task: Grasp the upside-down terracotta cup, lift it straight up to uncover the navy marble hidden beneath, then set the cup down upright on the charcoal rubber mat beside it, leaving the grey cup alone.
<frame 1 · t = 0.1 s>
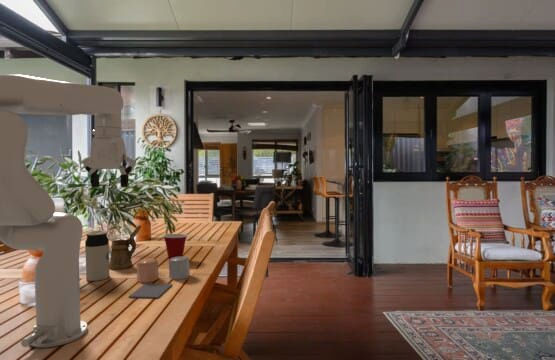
hand: (109, 186, 108), 37 cm above the table, tool pointing down, fingers open, 9 cm apart
marble: (147, 275, 129), in the terracotta cup
terracotta cup: (147, 279, 129), on the table
plastic cup: (175, 260, 155), on the table
travel mug: (98, 278, 130), on the table
grey cup: (179, 276, 132), on the table
wooden mug: (125, 267, 145), on the table
mat: (151, 291, 116), on the table
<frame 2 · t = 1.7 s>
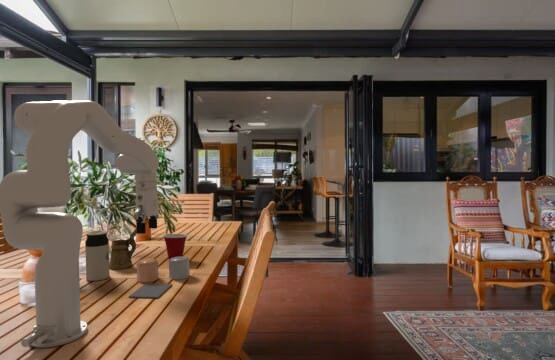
hand: (147, 230, 128), 19 cm above the table, tool pointing down, fingers open, 9 cm apart
nothing on the table moved.
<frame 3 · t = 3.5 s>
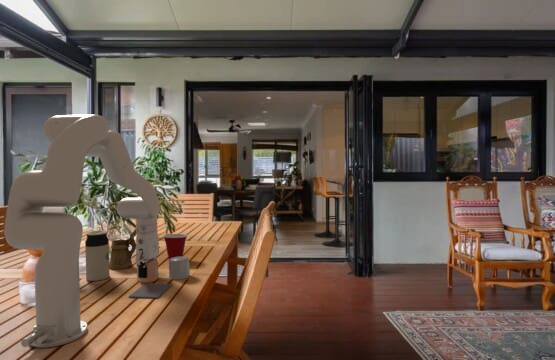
hand: (147, 273, 129), 2 cm above the table, tool pointing down, fingers closed on terracotta cup, 7 cm apart
terracotta cup: (147, 279, 129), on the table, touching gripper
everything else where it was.
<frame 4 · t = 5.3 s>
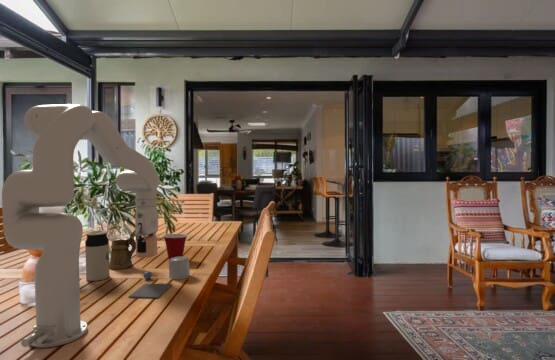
hand: (146, 249, 128), 12 cm above the table, tool pointing down, fingers closed on terracotta cup, 7 cm apart
terracotta cup: (146, 255, 128), point 9 cm above the table, touching gripper
everything else where it was.
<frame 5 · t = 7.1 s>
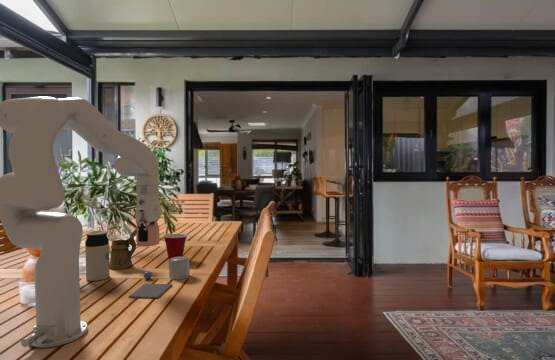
hand: (148, 238, 121), 17 cm above the table, tool pointing down, fingers closed on terracotta cup, 7 cm apart
terracotta cup: (148, 244, 121), point 15 cm above the table, touching gripper
everything else where it was.
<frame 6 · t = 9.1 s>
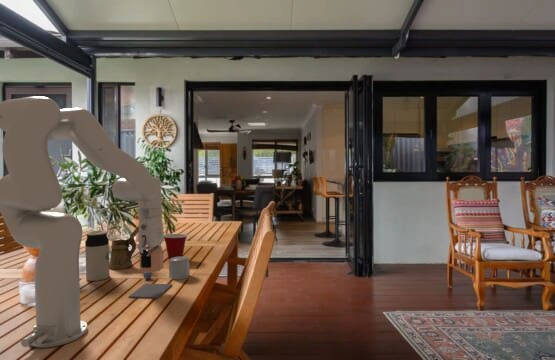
hand: (151, 263, 116), 10 cm above the table, tool pointing down, fingers closed on terracotta cup, 7 cm apart
terracotta cup: (151, 269, 116), point 8 cm above the table, touching gripper
everything else where it was.
when the fingers open (4 cm above the table, at t = 10.7 s): terracotta cup drops 1 cm, resting on mat.
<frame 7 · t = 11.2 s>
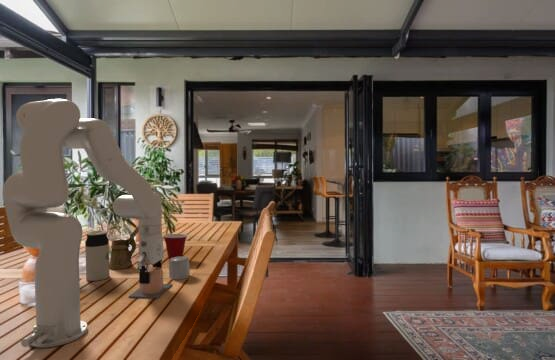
hand: (151, 278, 116), 5 cm above the table, tool pointing down, fingers open, 9 cm apart
terracotta cup: (151, 289, 116), resting on mat
everything else where it was.
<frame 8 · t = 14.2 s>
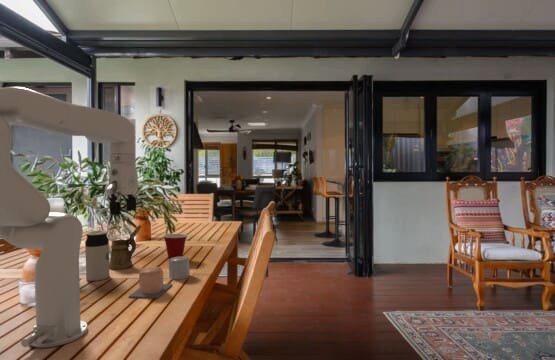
hand: (123, 212, 109), 28 cm above the table, tool pointing down, fingers open, 9 cm apart
nothing on the table moved.
at the end: terracotta cup 0.1 cm off-centre on the mat, point 0.5 cm above the mat's base; terracotta cup tilted 0°; the gripper is holding nothing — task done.
